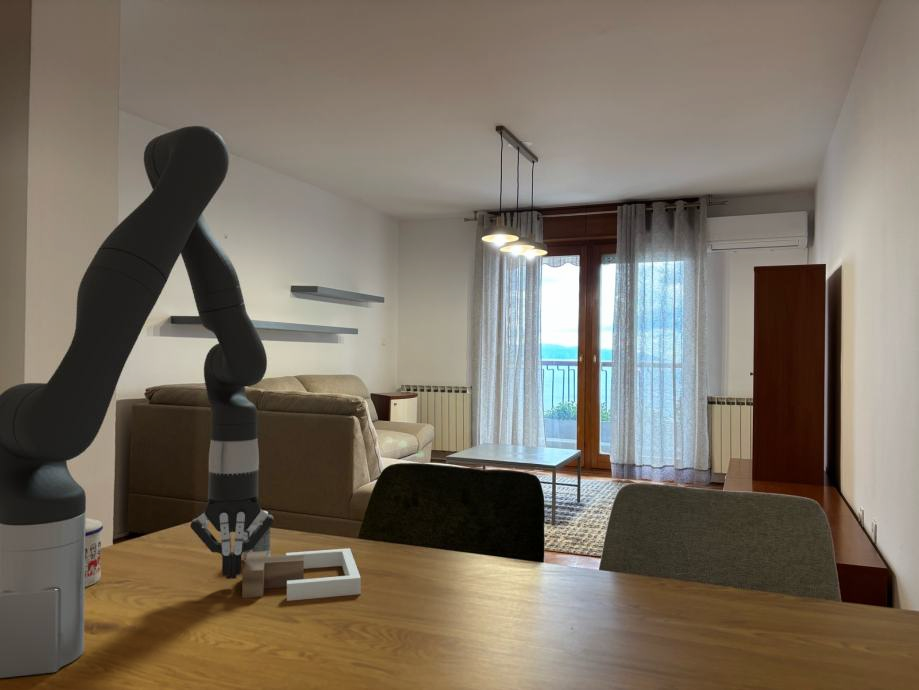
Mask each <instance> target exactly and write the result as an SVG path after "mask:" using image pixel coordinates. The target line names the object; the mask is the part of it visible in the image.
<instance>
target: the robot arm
mask: <svg viewBox="0 0 919 690" xmlns="http://www.w3.org/2000/svg"><path fill="white" fill-rule="evenodd" d="M229 158H230V157H229V150H228V148H227V144H226V142H225V141H224V139H223V137H222V136H221V134H219V133H218V132H216V131H215V130H214V129H212V128H210V127H208V126H204V125H190V126H184V127H181V128H180V127H179V128H178V129H175V130H172V131H170V132H165V133H163V134H160V135H158V136H155V137H154V138H152V139H151V140H150V141H149V142H148V143H147V145H146V146H145V149H144V152H143V164H144V169H145V173H146V176H147V179H148V181H149V183H150V186H151V188H152V191H151V192H150V194H149V195H148V196H147V197H146V198H145V199H144V200H143V201H142V202H141V203H140V204H139V205H138V206H137V207H136V208H135V209H134V210H132V212H130V213H129V214H128V215H127V216H126V217H125V218H124V219H123V220H122V221H121V222H120V223H119V224H118V225H117V226H116V227H115V228H114V229H113V230H112V231H111V232H110V233H109V235H108V236H107V237H106V238H105V239H104V240H103V242H102V243H101V244H100V246H99V248H98V249H97V251H96V253H95V254H94V256H93V258H92V260H91V262H90V264H89V265H88V267H87V268H86V270H85V273H84V274H83V276H82V279H81V281H80V283H79V286H78V290H77V297H76V318H75V330H74V334H73V337H72V340H71V343H70V345H69V347H68V350H66V351H67V352H66V353H65V354H64V356H63V358H62V360H61V361H60V363H59V365H58V367H57V368H56V369H55V371H54V373H53V374H52V375H51V377H50V378H49V380H48V381H47V383H45V382H43V383H42V382H27V383H21V384H15V385H13V386H11V387H9V388H8V389H6V390H4V391H3V392H1V394H0V679H2V678H14V677H23V676H32V675H42V674H49V673H50V674H51V673H55V672H56V673H57V672H58V671H59V670H60V668H62V667H64V666H66V665H68V664H70V663H72V662H74V661H75V660H78V658H80V657H81V656H82V654H83V653H84V651H85V597H86V595H85V590H86V589H85V588H86V587H85V525H86V516H87V513H86V509H87V507H86V506H87V495H86V492H85V489H84V488H83V487H82V486H81V485H80V484H79V483H78V482H77V481H76V480H75V479H74V478H73V476H72V475H71V473H70V470H69V469H68V464H67V461H70V460H72V459H73V460H74V458H77V457H78V456H80V455H81V454H83V453H84V452H85V451H86V450H87V449H88V448H89V447H90V446H91V445H92V443H93V442H94V441H95V438H97V435H98V434H99V431H100V429H101V428H102V425H103V423H104V420H105V418H106V415H107V412H108V409H109V407H110V404H111V401H112V399H113V396H114V394H115V391H116V387H117V385H118V383H119V380H120V377H121V374H122V372H123V369H124V367H125V365H126V362H127V361H128V358H129V357H130V355H131V353H132V351H133V349H134V346H135V345H136V342H137V341H138V338H139V336H140V334H141V332H142V331H143V328H144V327H145V326H144V325H145V323H146V321H147V320H148V318H149V316H150V314H151V313H152V311H153V309H154V308H155V306H156V304H157V301H158V299H159V298H160V296H161V294H162V292H163V290H164V288H165V286H166V284H167V283H168V282H167V281H168V280H169V277H170V275H171V273H172V270H173V268H174V266H175V264H176V262H177V260H178V259H179V257H180V256H181V259H182V260H183V263H184V267H185V269H186V272H187V277H188V279H189V283H190V286H191V290H192V294H193V298H194V302H195V306H196V310H197V313H198V316H199V321H200V323H201V324H202V327H204V328H205V330H208V331H210V332H212V334H214V336H215V337H216V339H217V341H218V343H216V344H215V345H213V346H212V347H211V348H210V349H209V350H208V352H207V353H206V357H205V359H204V365H203V378H204V384H205V389H206V390H205V391H206V395H207V400H208V404H209V407H210V411H211V422H210V423H211V424H210V425H211V427H210V445H209V452H208V482H207V483H208V485H207V487H208V488H207V492H208V493H207V504H206V505H205V508H204V510H203V513H202V514H201V515H199V516H198V517H195V518H193V519H192V521H191V523H190V529H191V530H192V531H193V532H194V533H195V534H196V535H197V537H198V538H199V539H200V540H201V541H202V543H203V544H204V545H205V546H206V548H208V550H209V551H210V552H211V553H217V554H220V555H221V559H222V561H221V562H222V564H221V568H222V569H221V573H222V576H223V577H224V576H226V580H232V579H237V575H240V574H241V571H242V561H243V552H244V551H247V550H252V549H253V548H254V546H255V545H256V544H257V542H258V541H259V540H260V539H261V537H262V536H263V535H264V534H265V532H266V531H267V530H268V529H269V527H270V528H271V526H272V525H273V523H274V516H273V514H270V513H268V514H267V513H265V512H264V511H265V510H263V509H262V505H261V503H260V500H259V470H260V469H259V465H260V459H259V458H260V456H259V455H260V453H259V452H260V451H259V443H258V430H259V429H258V426H259V425H258V422H259V421H258V420H259V416H258V409H257V405H255V404H254V403H253V402H252V401H250V400H249V399H248V397H247V394H246V393H247V392H246V387H251V386H252V387H253V386H255V385H257V384H258V383H260V382H261V381H262V379H263V378H264V377H265V375H266V372H267V367H268V360H267V359H268V358H267V352H266V350H265V347H264V343H263V341H262V339H261V337H260V336H259V333H258V331H257V330H256V327H255V325H254V323H253V321H252V319H251V318H250V317H249V315H248V312H247V309H246V305H245V300H244V296H243V292H242V288H241V284H240V280H239V276H238V273H237V271H236V268H235V266H234V264H233V262H232V260H231V259H230V257H229V255H227V252H226V251H225V250H224V248H223V247H222V245H221V244H220V243H219V241H218V240H217V239H216V237H215V236H214V235H213V233H212V231H211V230H210V227H209V226H208V224H207V222H206V221H205V217H204V215H203V212H204V211H205V210H206V208H207V207H208V205H209V203H210V202H211V201H212V199H213V198H214V197H215V195H216V193H217V192H218V191H219V189H220V187H221V186H222V185H223V183H224V181H225V179H226V176H227V174H228V171H229V170H228V169H229V164H230V162H229V161H230V159H229ZM257 516H258V517H259V519H258V521H257V524H258V525H259V526H258V527H257V528H256V529H255V531H254V532H253V533H252V534H251V536H250V537H249V538H248V540H246V541H244V542H243V534H244V531H245V530H247V529H248V528H249V527H250V525H251V524H252V523H253V521H254V520H255V518H256V517H257ZM208 521H209V522H208ZM209 523H211V525H212V526H213V528H214V529H215V530H216V531H217V532H219V533H220V540H221V542H219V540H218V539H217V538H216V536H214V535H213V533H212V532H211V531H210V530H209V528H208V526H209ZM232 533H235V534H234V545H233V549H232V537H231V536H232V535H231V534H232ZM232 550H233V551H232Z"/></svg>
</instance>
